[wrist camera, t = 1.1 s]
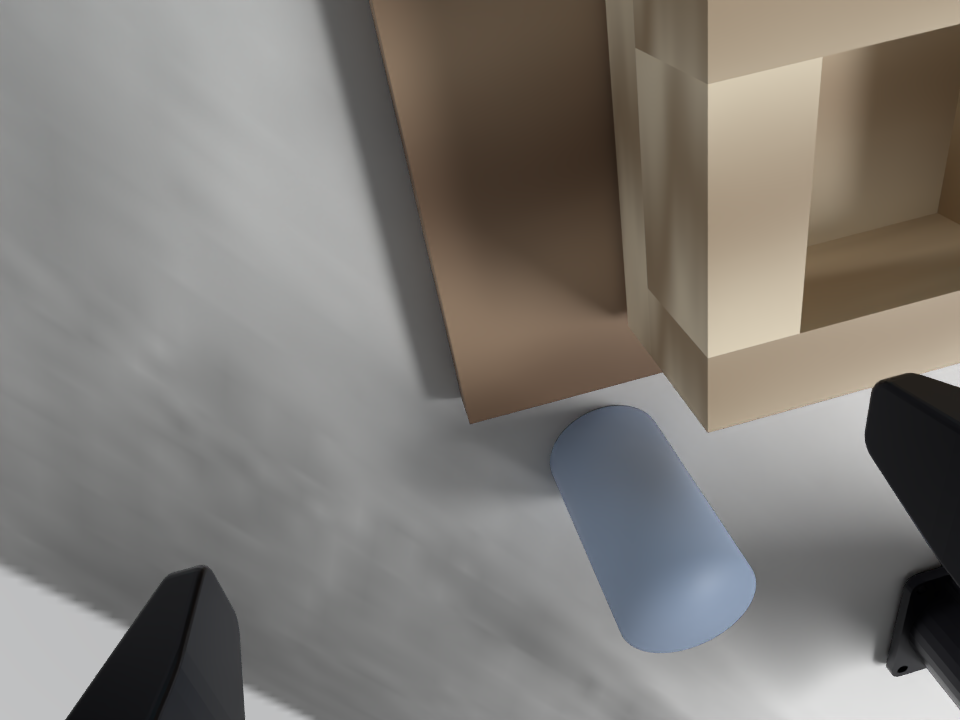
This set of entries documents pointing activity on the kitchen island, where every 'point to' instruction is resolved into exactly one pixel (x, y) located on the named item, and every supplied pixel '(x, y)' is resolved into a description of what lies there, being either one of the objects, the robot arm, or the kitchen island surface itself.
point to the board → (516, 192)
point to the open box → (788, 194)
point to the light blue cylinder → (649, 532)
